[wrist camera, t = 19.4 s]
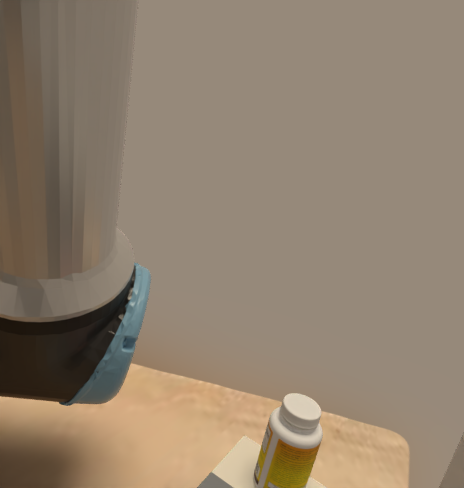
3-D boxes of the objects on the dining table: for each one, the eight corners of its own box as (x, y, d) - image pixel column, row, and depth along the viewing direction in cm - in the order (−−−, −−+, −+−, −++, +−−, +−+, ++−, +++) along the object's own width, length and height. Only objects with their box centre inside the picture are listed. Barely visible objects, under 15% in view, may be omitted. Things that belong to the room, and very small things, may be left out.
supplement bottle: (313, 500, 40) (341, 419, 37) (271, 516, 37) (298, 430, 34) (282, 459, 44) (305, 384, 41) (242, 470, 41) (265, 391, 39)
